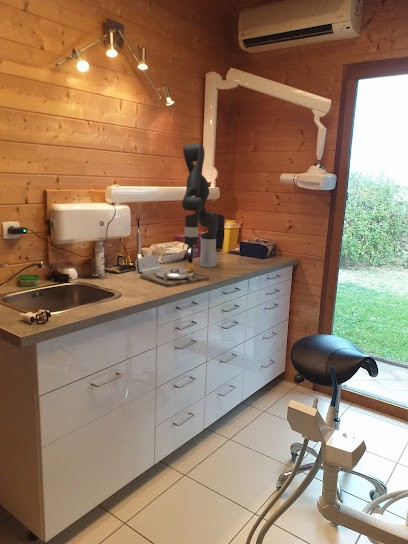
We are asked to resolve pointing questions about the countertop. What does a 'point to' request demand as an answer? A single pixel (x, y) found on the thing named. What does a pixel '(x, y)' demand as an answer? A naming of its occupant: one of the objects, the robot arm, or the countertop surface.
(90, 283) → the countertop surface
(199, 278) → the base board
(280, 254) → the countertop surface
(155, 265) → the hinge
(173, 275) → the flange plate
